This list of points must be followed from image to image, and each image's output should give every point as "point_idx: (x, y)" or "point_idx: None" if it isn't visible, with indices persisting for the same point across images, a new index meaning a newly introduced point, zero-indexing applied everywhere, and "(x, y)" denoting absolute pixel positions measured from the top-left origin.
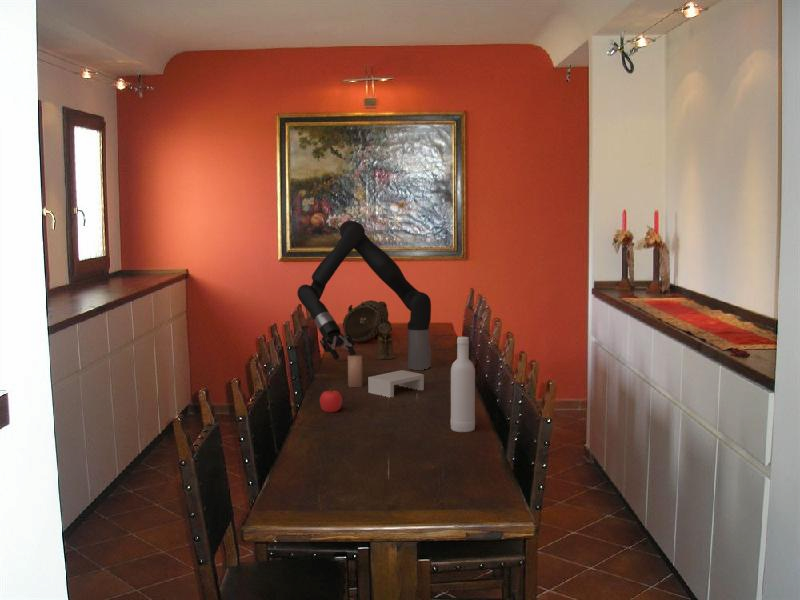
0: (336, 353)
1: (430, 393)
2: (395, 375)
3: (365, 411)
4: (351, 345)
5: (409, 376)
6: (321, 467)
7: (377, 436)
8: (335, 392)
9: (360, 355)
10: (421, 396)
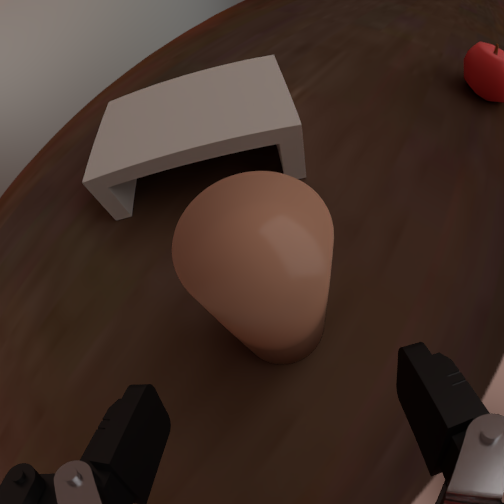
0: (439, 372)
1: None
2: (180, 111)
3: (407, 55)
4: (73, 467)
5: (160, 89)
6: (489, 6)
7: (422, 5)
8: (484, 44)
9: (179, 235)
10: None
